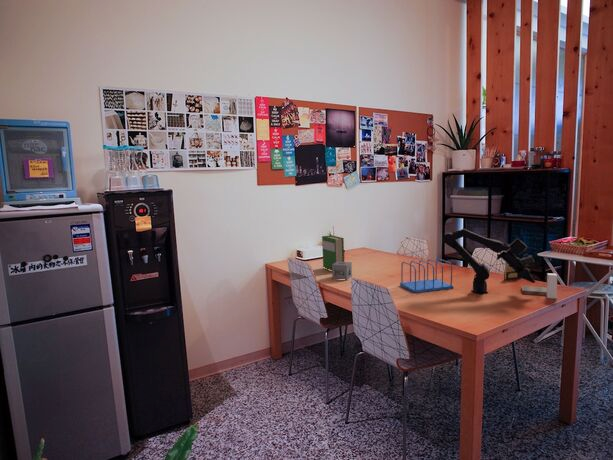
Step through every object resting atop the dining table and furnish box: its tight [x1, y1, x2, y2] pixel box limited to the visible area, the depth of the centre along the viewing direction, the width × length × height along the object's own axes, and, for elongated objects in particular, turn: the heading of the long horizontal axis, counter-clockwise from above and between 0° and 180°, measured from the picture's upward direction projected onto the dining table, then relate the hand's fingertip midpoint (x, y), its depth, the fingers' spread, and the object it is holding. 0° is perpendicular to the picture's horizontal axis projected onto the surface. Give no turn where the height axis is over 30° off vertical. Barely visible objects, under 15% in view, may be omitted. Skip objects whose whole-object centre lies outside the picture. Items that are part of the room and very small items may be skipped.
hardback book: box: [321, 235, 345, 270], centre depth 289 cm, size 18×7×24 cm, turn 26°
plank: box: [520, 285, 547, 297], centre depth 216 cm, size 15×10×2 cm, turn 65°
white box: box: [545, 272, 558, 299], centre depth 211 cm, size 4×13×12 cm, turn 155°
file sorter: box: [399, 258, 454, 294], centre depth 235 cm, size 25×17×15 cm
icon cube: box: [331, 261, 353, 281], centre depth 265 cm, size 10×10×10 cm
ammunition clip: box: [503, 262, 520, 281], centre depth 246 cm, size 11×2×12 cm, turn 106°
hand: (534, 282), depth 210 cm, fingers closed
